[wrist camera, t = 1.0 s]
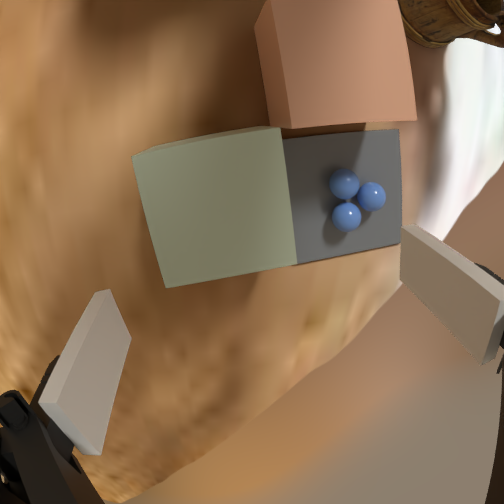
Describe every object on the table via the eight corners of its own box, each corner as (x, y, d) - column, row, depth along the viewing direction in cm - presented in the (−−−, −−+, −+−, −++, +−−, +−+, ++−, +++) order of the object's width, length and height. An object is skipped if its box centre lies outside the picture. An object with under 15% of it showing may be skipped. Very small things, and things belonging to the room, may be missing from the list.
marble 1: (323, 168, 31) (334, 173, 28) (351, 164, 31) (363, 169, 28) (326, 197, 32) (336, 204, 29) (353, 193, 32) (365, 200, 29)
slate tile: (278, 139, 29) (279, 140, 29) (396, 129, 30) (398, 129, 30) (294, 262, 35) (294, 264, 34) (399, 241, 35) (401, 242, 35)
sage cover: (154, 146, 28) (131, 156, 20) (261, 125, 29) (280, 127, 21) (177, 245, 32) (165, 288, 24) (276, 226, 33) (297, 264, 25)
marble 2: (326, 201, 32) (336, 209, 29) (353, 196, 32) (365, 204, 29) (328, 228, 33) (338, 238, 30) (354, 224, 33) (366, 233, 31)
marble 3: (351, 181, 31) (363, 187, 29) (377, 177, 32) (390, 183, 29) (353, 209, 33) (365, 217, 30) (378, 204, 33) (391, 213, 30)
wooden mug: (453, 91, 29) (578, 101, 12) (373, 5, 24) (488, -51, 8) (480, 49, 26) (591, 46, 10) (408, -32, 22) (511, -81, 6)
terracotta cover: (253, 27, 25) (269, -6, 17) (353, 24, 25) (397, 0, 17) (270, 126, 29) (292, 129, 21) (367, 117, 29) (417, 120, 21)
